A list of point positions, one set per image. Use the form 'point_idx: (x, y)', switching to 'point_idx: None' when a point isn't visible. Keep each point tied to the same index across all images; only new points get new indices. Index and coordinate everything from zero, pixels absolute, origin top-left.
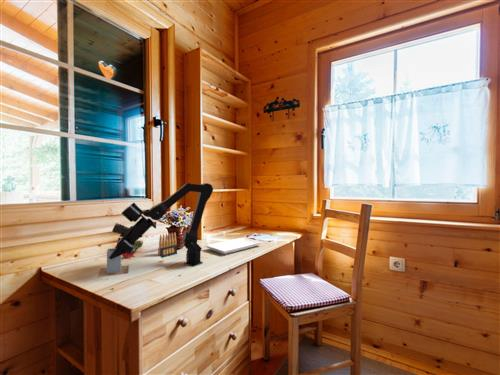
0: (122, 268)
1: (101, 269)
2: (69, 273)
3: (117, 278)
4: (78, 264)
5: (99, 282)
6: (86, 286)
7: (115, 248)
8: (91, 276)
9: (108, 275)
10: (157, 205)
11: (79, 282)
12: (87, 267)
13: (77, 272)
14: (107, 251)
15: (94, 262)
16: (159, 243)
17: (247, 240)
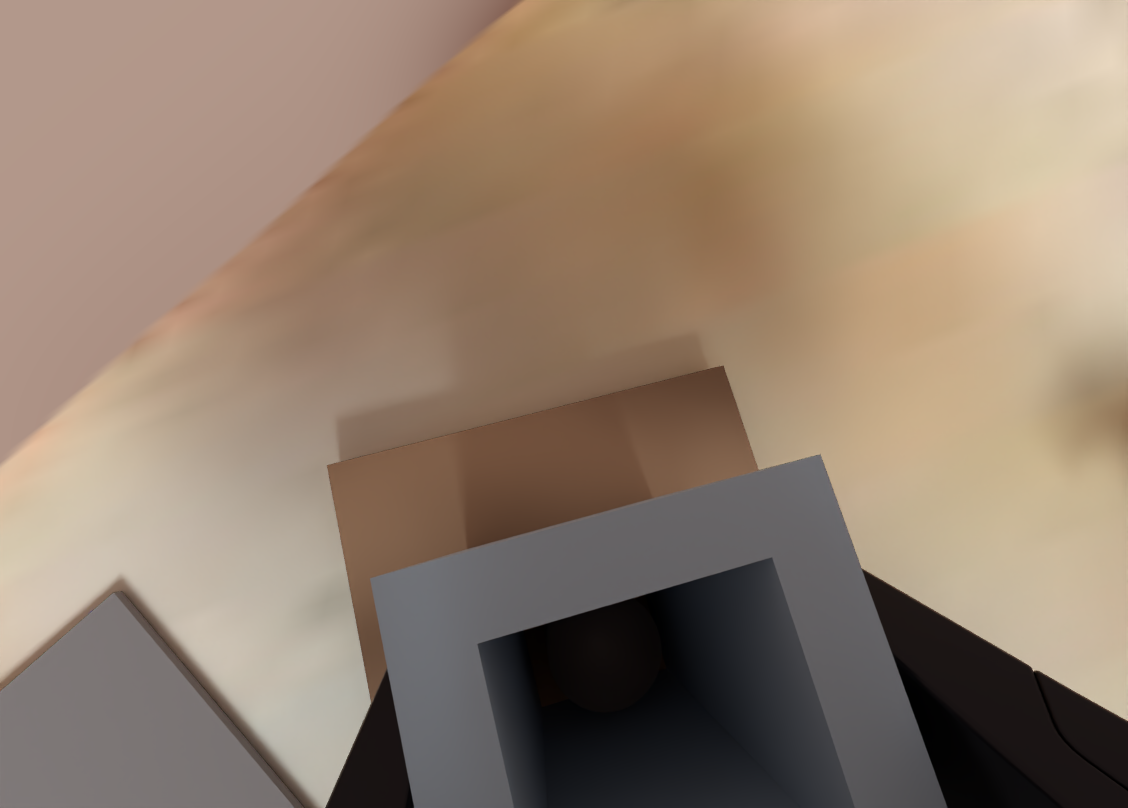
0: None
1: (672, 394)
2: (641, 47)
3: (324, 763)
4: (977, 12)
5: (211, 544)
6: (100, 428)
7: (866, 740)
8: (487, 341)
9: (362, 613)
10: None
11: (281, 283)
12: (859, 155)
13: (669, 117)
14: (398, 588)
15: (1068, 161)
16: None
17: None
